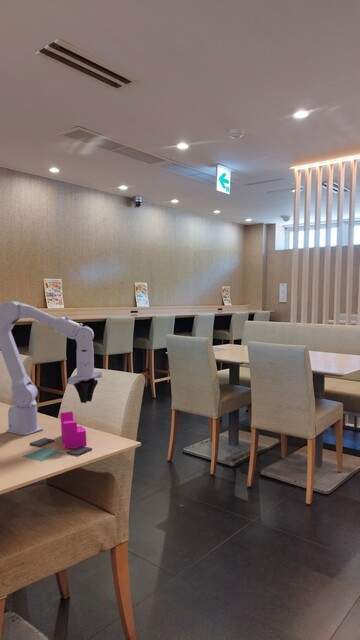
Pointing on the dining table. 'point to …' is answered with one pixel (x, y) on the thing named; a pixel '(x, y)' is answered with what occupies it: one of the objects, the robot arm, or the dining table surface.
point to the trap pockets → (74, 451)
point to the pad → (42, 454)
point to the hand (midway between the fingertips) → (86, 401)
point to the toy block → (72, 431)
